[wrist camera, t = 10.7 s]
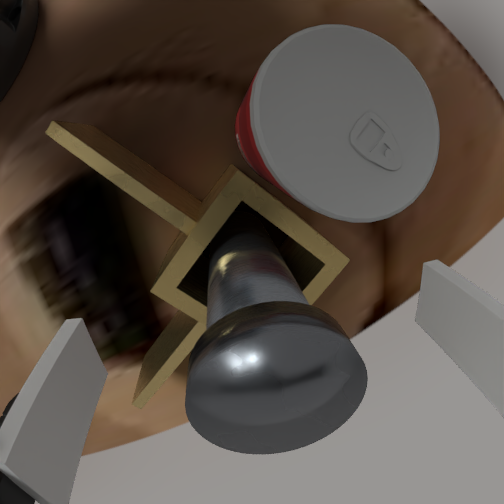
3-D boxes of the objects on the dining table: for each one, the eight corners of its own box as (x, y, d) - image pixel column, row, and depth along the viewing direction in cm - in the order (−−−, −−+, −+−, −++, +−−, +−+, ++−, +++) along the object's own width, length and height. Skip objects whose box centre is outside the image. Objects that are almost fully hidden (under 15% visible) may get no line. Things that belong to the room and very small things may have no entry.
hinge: (24, 273, 20) (-20, 310, 14) (119, 86, 17) (78, 62, 10) (183, 377, 25) (178, 436, 19) (312, 226, 22) (350, 260, 15)
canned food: (319, 202, 22) (402, 252, 11) (216, 161, 20) (213, 173, 9) (357, 111, 19) (459, 95, 9) (258, 64, 18) (297, -10, 7)
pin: (190, 245, 22) (153, 420, 7) (232, 190, 21) (268, 293, 6) (245, 282, 23) (285, 465, 8) (286, 231, 22) (397, 376, 7)
